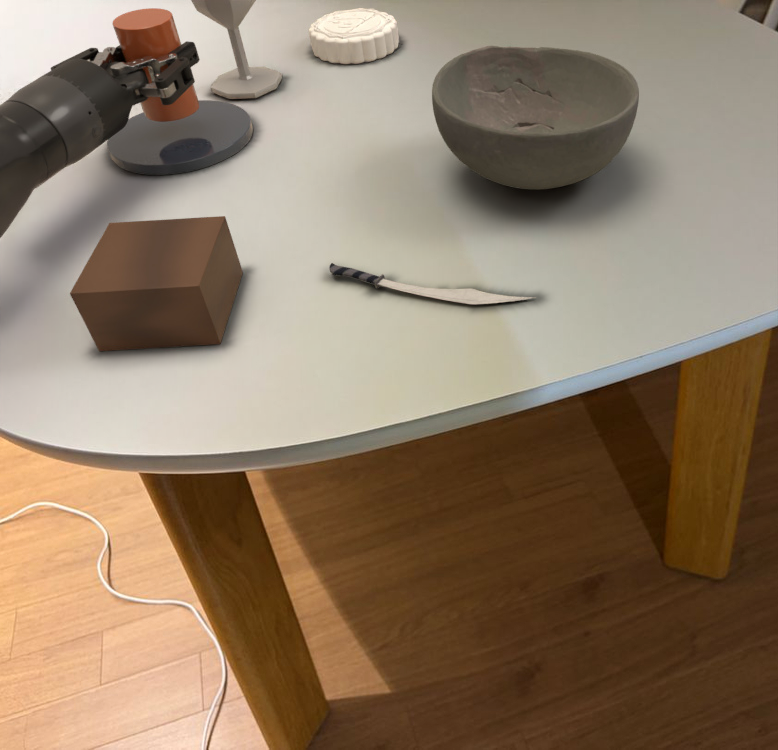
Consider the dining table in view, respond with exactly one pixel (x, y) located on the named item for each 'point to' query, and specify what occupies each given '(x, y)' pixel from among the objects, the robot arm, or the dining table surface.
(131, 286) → the stand
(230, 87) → the wineglass
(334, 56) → the mooncake
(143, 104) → the orange cylinder
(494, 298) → the knife
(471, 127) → the bowl
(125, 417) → the dining table surface
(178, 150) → the plate
